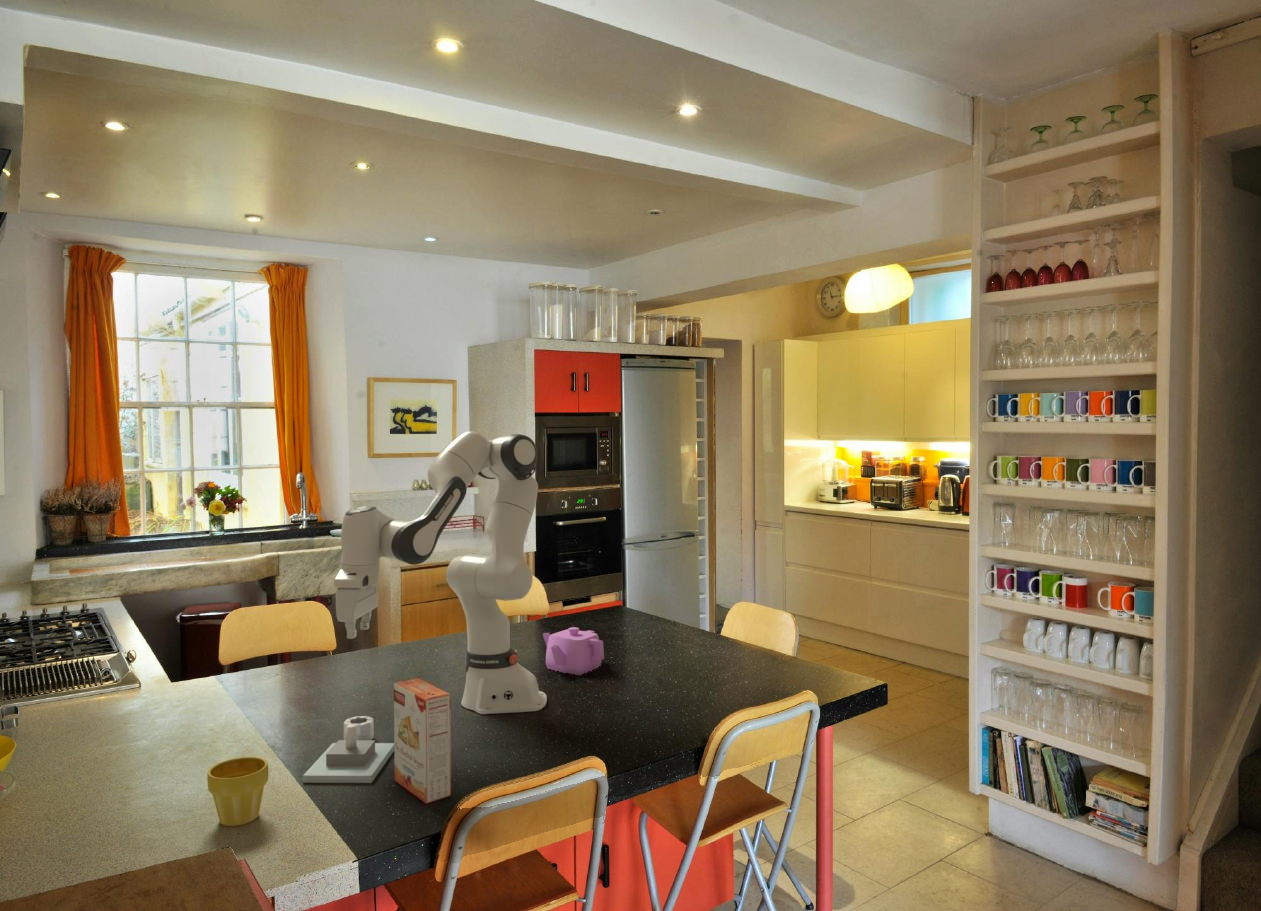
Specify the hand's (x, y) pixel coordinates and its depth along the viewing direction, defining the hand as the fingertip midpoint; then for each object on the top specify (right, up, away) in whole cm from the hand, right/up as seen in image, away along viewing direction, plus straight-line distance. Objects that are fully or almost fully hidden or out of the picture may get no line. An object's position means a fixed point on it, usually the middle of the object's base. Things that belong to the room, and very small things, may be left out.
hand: (358, 633), depth 202 cm
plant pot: (-9, -26, -43) cm, 51 cm away
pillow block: (+4, -25, -18) cm, 31 cm away
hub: (+1, -24, -3) cm, 24 cm away
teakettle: (+47, -23, +58) cm, 77 cm away
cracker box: (+22, -26, -30) cm, 45 cm away
